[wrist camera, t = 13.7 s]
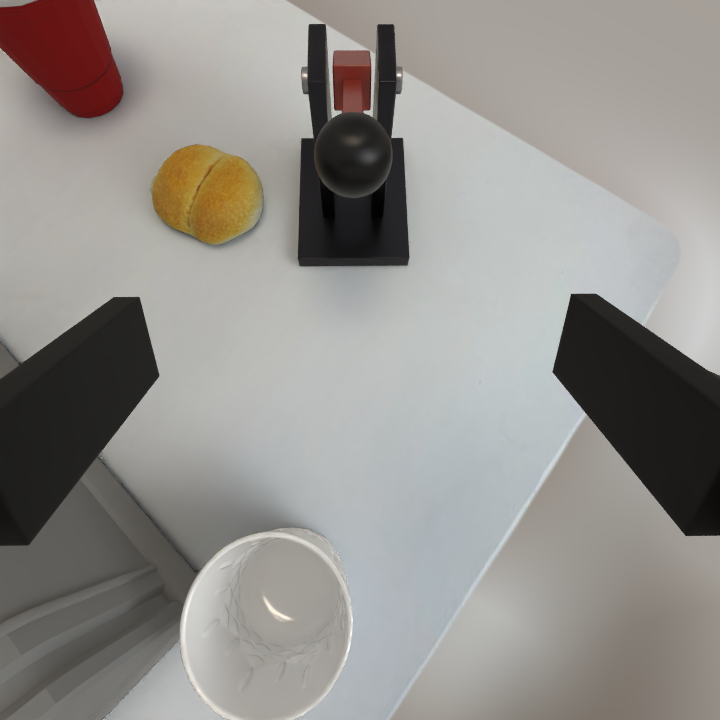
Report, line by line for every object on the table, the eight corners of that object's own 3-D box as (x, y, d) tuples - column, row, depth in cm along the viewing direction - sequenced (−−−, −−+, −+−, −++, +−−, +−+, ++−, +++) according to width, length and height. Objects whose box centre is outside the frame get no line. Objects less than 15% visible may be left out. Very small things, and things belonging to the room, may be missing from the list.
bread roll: (238, 261, 36) (224, 234, 32) (146, 221, 37) (122, 190, 33) (284, 185, 38) (276, 152, 35) (197, 149, 39) (180, 113, 36)
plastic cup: (167, 117, 40) (93, -30, 29) (51, 155, 39) (-76, 16, 28) (135, 37, 43) (56, -127, 32) (25, 70, 42) (-99, -89, 30)
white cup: (227, 536, 30) (167, 558, 21) (337, 505, 31) (329, 512, 21) (248, 663, 28) (193, 753, 18) (366, 627, 29) (372, 695, 19)
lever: (392, 213, 20) (397, 132, 18) (315, 213, 20) (308, 132, 18) (379, 103, 29) (381, 38, 26) (324, 104, 29) (321, 38, 26)
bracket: (407, 265, 36) (437, 137, 23) (299, 266, 36) (267, 138, 23) (401, 147, 40) (424, -23, 27) (302, 148, 40) (276, -23, 26)
